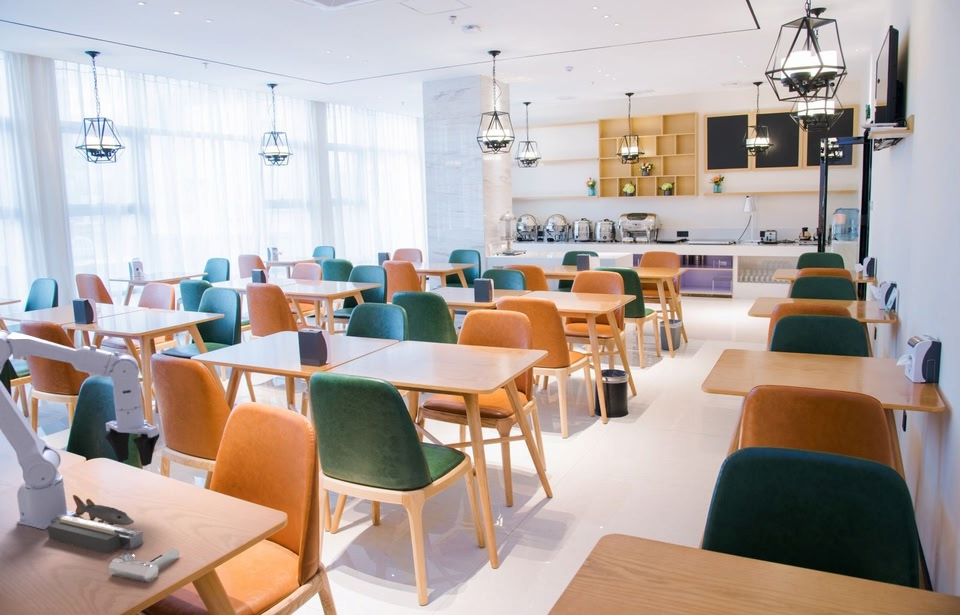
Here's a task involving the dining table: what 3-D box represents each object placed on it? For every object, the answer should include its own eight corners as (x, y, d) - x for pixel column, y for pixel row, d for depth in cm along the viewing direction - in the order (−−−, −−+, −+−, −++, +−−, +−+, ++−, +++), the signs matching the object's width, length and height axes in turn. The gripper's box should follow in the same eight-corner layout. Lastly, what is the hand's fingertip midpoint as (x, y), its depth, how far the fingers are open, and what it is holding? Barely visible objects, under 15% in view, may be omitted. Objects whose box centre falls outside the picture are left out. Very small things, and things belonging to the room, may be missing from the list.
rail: (52, 530, 152) (50, 517, 152) (65, 524, 155) (63, 512, 155) (131, 550, 143) (129, 536, 142) (143, 543, 145) (141, 529, 145)
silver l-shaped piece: (109, 577, 133) (145, 585, 130) (107, 555, 132) (144, 562, 129) (151, 554, 142) (185, 561, 139) (149, 533, 142) (184, 540, 138)
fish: (124, 537, 149) (122, 515, 148) (65, 518, 159) (62, 498, 158) (143, 528, 153) (140, 507, 152) (84, 510, 162) (81, 490, 162)
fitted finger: (49, 539, 149) (47, 522, 148) (61, 533, 151) (59, 516, 150) (108, 553, 141) (106, 536, 141) (120, 547, 144) (118, 530, 143)
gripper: (165, 404, 163) (171, 460, 165) (121, 399, 169) (127, 453, 171) (140, 413, 156) (146, 471, 158) (95, 407, 162) (102, 463, 164)
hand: (135, 462), depth 164 cm, fingers open, 7 cm apart
